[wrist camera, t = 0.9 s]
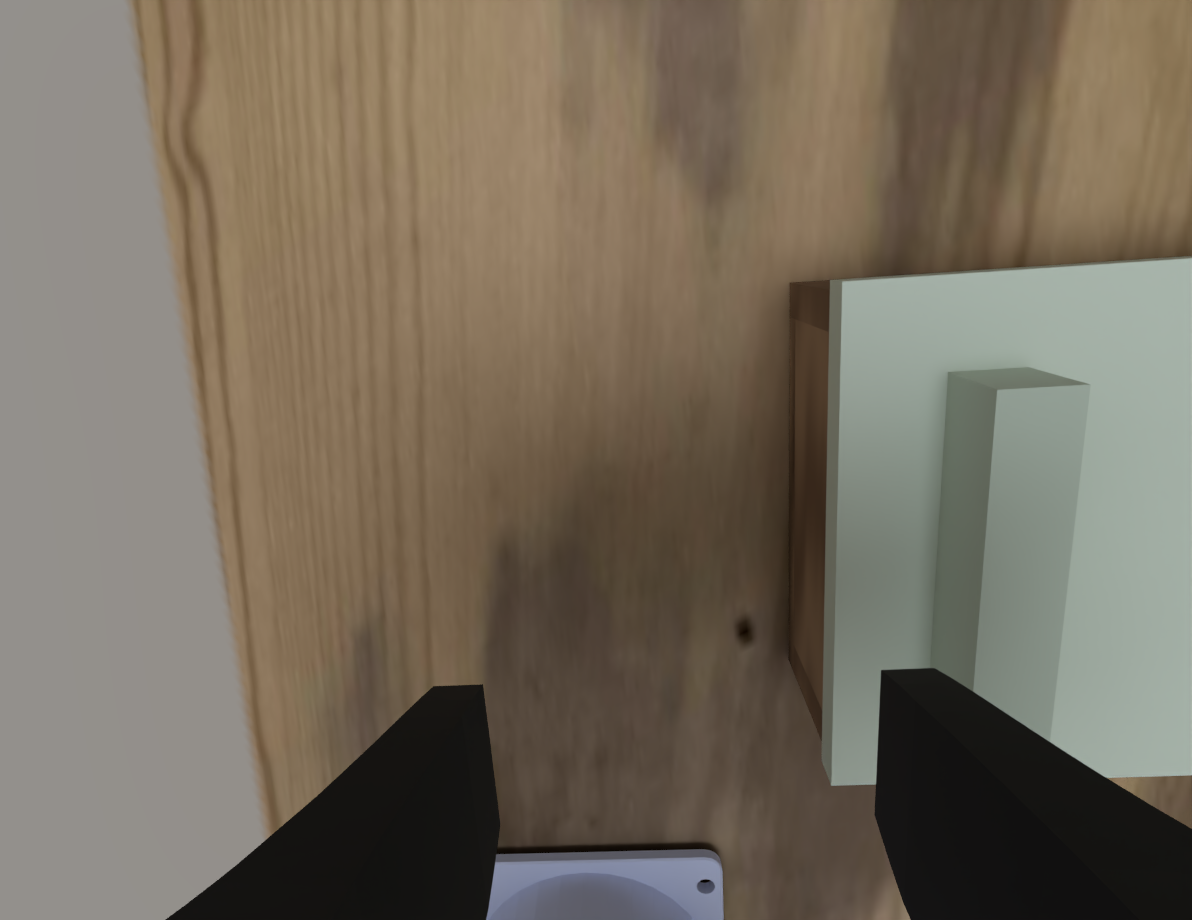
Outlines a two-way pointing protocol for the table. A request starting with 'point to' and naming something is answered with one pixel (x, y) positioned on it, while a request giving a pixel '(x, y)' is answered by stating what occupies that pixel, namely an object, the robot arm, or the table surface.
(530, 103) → the table surface
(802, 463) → the walnut box
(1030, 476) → the lid
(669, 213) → the table surface
